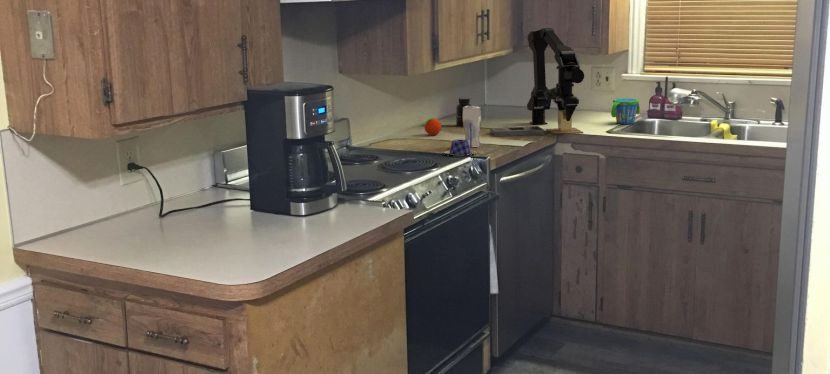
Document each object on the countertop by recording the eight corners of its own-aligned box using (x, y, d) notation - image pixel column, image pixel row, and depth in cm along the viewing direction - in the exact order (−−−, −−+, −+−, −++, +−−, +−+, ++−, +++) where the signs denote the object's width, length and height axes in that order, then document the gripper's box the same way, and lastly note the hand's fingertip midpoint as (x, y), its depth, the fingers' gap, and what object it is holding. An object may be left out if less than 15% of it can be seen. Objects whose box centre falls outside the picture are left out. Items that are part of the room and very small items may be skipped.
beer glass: (469, 148, 339) (468, 108, 335) (459, 146, 345) (459, 106, 342) (485, 147, 342) (484, 107, 339) (475, 144, 348) (474, 105, 345)
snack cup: (619, 126, 382) (620, 102, 380) (603, 123, 391) (603, 99, 389) (647, 123, 390) (648, 99, 388) (630, 120, 399) (631, 97, 397)
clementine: (432, 137, 366) (431, 119, 364) (419, 135, 371) (418, 118, 369) (444, 134, 372) (444, 117, 370) (432, 133, 376) (431, 116, 375)
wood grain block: (557, 129, 374) (558, 110, 373) (568, 129, 375) (568, 109, 373) (560, 131, 370) (561, 111, 368) (571, 131, 370) (571, 111, 369)
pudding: (454, 150, 337) (453, 136, 336) (482, 153, 331) (482, 139, 330) (437, 156, 327) (437, 142, 326) (466, 159, 321) (466, 144, 320)
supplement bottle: (454, 126, 392) (453, 99, 389) (459, 124, 398) (459, 97, 395) (469, 127, 389) (469, 99, 386) (474, 125, 395) (474, 97, 393)
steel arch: (490, 132, 374) (490, 127, 373) (537, 130, 376) (537, 125, 376) (495, 136, 364) (495, 131, 364) (543, 134, 366) (544, 129, 366)
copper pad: (546, 129, 378) (546, 128, 377) (574, 128, 379) (574, 127, 379) (554, 134, 366) (554, 133, 366) (583, 133, 367) (583, 132, 367)
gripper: (539, 79, 376) (539, 117, 380) (552, 84, 358) (551, 123, 361) (566, 78, 377) (565, 116, 381) (579, 83, 359) (579, 122, 363)
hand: (564, 119), depth 371 cm, fingers open, 9 cm apart
